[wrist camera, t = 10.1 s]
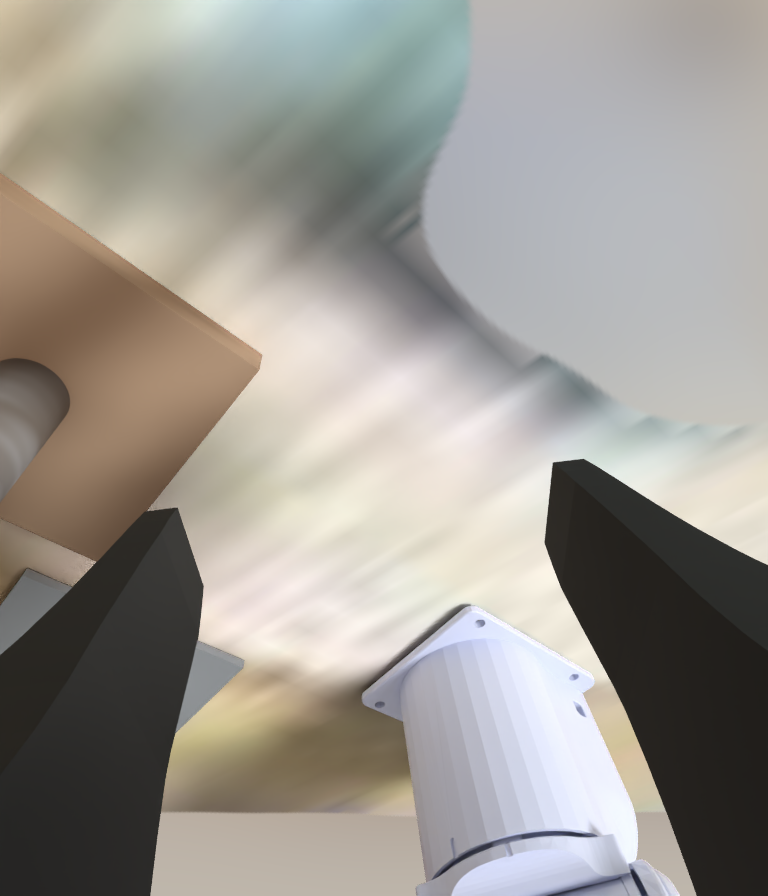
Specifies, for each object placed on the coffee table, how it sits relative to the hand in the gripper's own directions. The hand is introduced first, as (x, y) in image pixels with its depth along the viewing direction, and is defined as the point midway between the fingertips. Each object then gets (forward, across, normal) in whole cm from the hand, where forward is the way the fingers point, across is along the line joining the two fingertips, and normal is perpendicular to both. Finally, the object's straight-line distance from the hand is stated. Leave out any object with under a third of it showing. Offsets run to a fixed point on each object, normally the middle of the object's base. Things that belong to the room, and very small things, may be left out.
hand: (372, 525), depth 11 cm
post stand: (+9, +10, 0) cm, 14 cm away
